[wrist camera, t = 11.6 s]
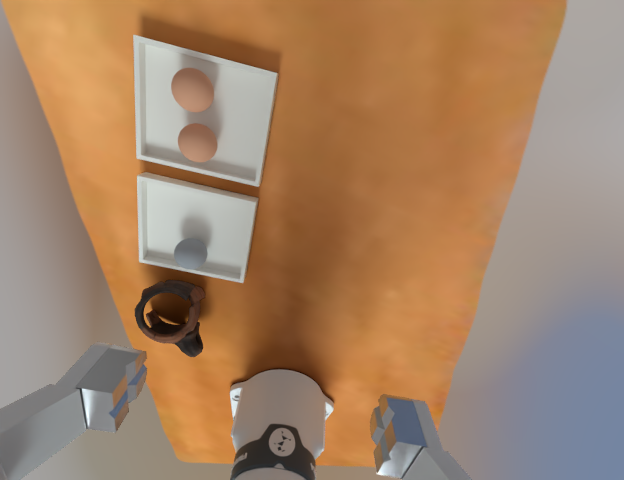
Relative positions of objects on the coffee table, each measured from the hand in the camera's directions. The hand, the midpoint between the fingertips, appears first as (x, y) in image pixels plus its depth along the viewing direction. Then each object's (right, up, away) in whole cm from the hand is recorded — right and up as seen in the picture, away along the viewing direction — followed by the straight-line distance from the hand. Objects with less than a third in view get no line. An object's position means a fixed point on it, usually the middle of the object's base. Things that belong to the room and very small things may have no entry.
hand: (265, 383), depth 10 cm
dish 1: (-10, +19, +23) cm, 31 cm away
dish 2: (-13, +7, +29) cm, 33 cm away
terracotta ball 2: (-11, +16, +24) cm, 31 cm away
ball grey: (-14, +4, +30) cm, 33 cm away
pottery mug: (-18, -5, +35) cm, 40 cm away
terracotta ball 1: (-10, +21, +21) cm, 31 cm away
